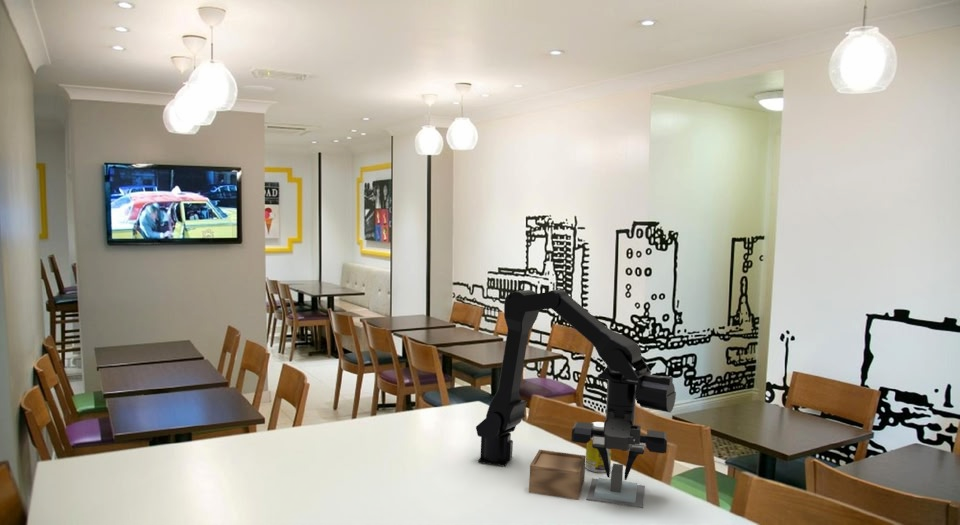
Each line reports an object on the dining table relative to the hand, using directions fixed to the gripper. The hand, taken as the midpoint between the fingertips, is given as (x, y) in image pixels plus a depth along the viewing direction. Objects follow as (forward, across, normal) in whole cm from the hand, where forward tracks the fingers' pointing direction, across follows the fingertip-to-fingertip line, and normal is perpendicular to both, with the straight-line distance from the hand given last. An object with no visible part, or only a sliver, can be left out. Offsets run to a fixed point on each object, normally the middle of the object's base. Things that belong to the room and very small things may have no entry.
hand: (616, 478), depth 134 cm
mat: (+3, 0, 0) cm, 3 cm away
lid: (+3, 0, 0) cm, 3 cm away
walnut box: (+3, -12, -1) cm, 12 cm away
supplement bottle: (+3, -5, +12) cm, 14 cm away
